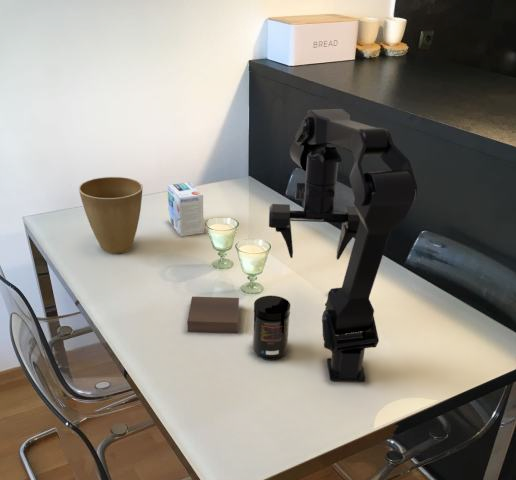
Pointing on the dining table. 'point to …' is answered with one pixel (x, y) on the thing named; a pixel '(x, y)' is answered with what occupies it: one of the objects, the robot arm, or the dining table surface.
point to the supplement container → (271, 326)
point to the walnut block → (213, 314)
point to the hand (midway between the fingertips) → (314, 257)
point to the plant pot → (112, 211)
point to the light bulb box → (185, 208)
